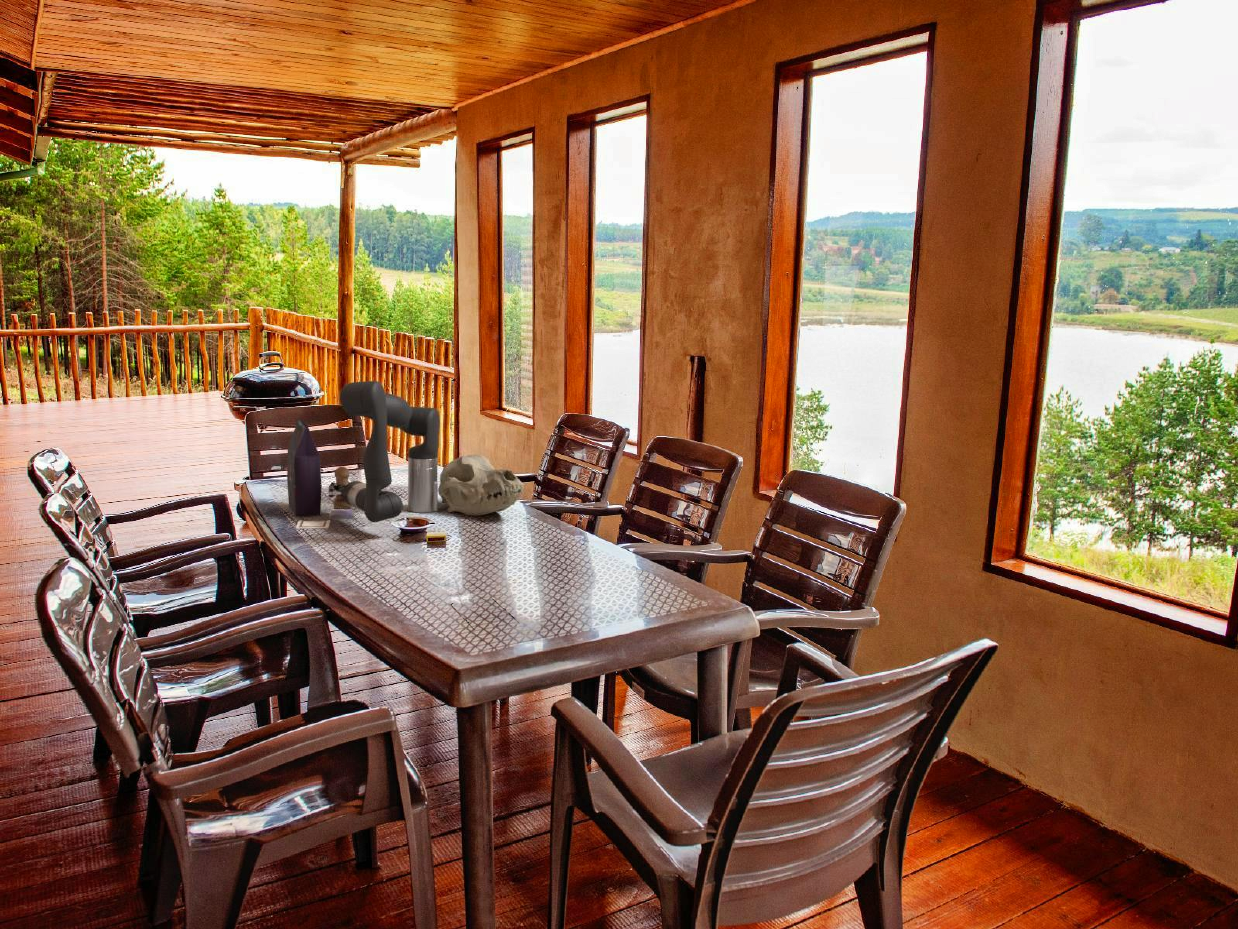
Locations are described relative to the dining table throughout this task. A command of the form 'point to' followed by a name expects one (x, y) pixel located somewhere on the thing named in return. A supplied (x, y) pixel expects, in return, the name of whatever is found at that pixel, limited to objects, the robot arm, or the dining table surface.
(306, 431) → the purple printed bag
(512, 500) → the animal skull
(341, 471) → the stamp
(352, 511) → the ink pad
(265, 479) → the dining table surface
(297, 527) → the sheet
